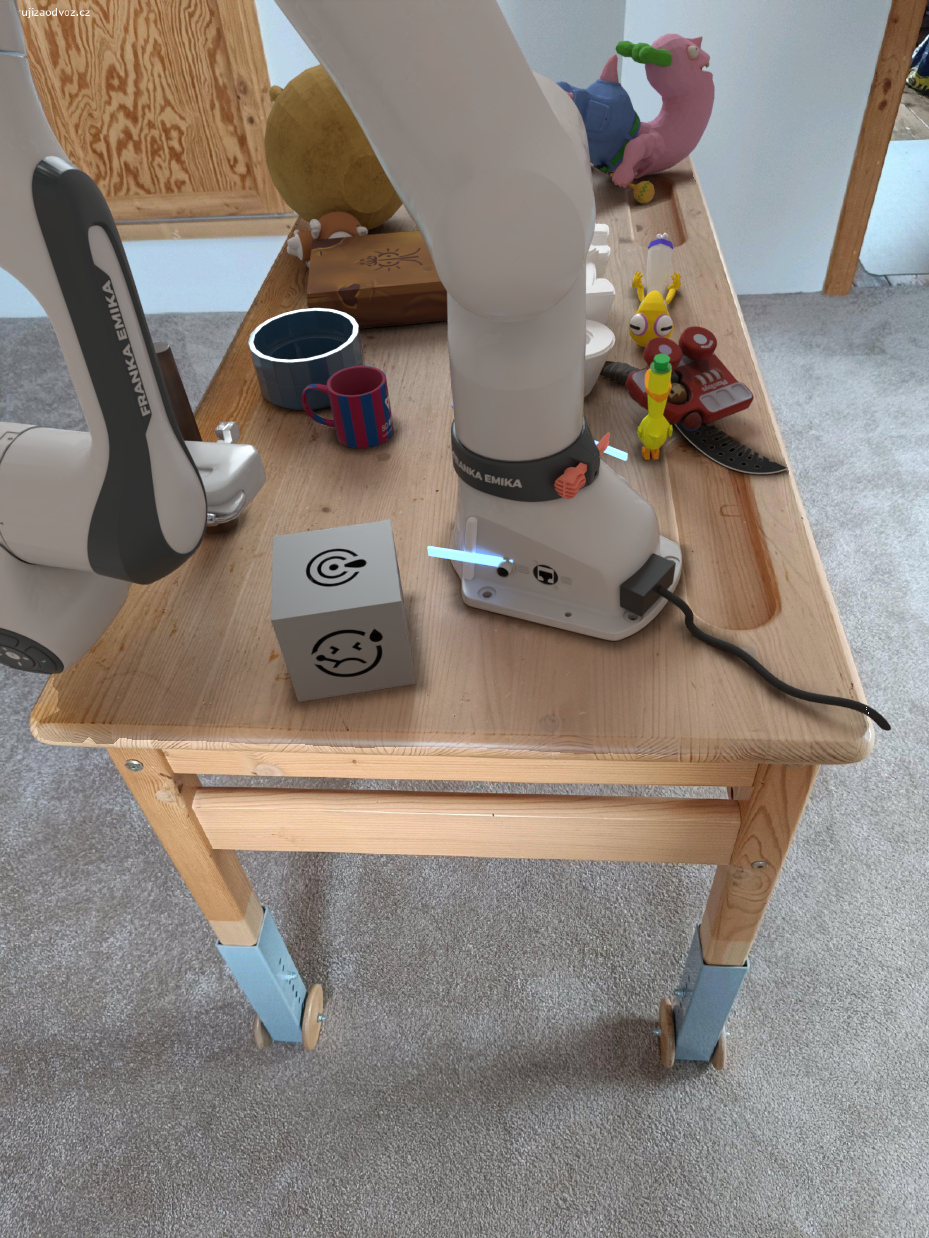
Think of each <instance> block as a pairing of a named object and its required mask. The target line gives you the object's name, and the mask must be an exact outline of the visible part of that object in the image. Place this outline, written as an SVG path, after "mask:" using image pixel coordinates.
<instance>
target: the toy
mask: <svg viewBox="0 0 929 1238" xmlns="http://www.w3.org/2000/svg"><path fill="white" fill-rule="evenodd" d="M702 42H703V36H697V37H694V38H689V37H688V38H687V37H685V36H682V35H680V34H678V33H665V34H663V35H660V36H659V37H658V38H657V39H655V40H654V41H653V42H652V44H649V43H646V42H638V43H633V42H631V41H629V40H621V41H618V42H617V44H616V46H615V51H616V54H614V55H611V56H610V57H609V58H608V60H607V61H606V63H605V65H604V66H603V68H602V71H601V73H600V75H599V78H597V79H596V81H594V82H593V83H591V84H590V85H589V86H587V88H581V87H580V88H579V87H576V86H573V85H571V84H569V83H568V82H567V81H557V82H555V83H556V84H557V85H559V86H560V87H561V88H562V89H563V90H564V91H565V92H566V93H567V94H568V95H569V96H570V98H571V99H572V100H573V102H574V103H575V105H576V106H577V108H578V110H579V112H580V114H581V117H582V119H583V122H584V125H585V129H586V133H587V139H588V147H589V155H590V164H592V165H593V166H592V167H593V168H595V169H597V170H598V171H600V172H601V173H604V174H605V175H606V174H608V176H610V178H611V183H614V185H615V186H619V188H623V189H624V190H625V189H626V188H628V187H629V188H631V189H632V191H633V197H634V200H635V201H636V202H638V204H641V205H642V204H643V205H644V204H648V203H650V202H651V201H652V200H653V198H654V196H655V194H656V191H655V186H654V184H653V183H652V182H650V180H642V181H640V182H638V183H637V184H634V183H633V182H634V180H638V179H640V178H642V177H644V176H647V175H652V174H656V173H660V172H664V171H666V170H669V169H671V168H673V167H675V166H677V164H679V163H680V162H682V161H683V160H684V159H686V158H688V156H689V155H691V153H692V152H694V150H695V149H696V147H697V146H698V145H699V143H700V141H701V139H702V137H703V135H704V133H705V130H706V129H707V127H708V125H709V121H710V119H711V117H712V112H713V107H714V103H715V91H716V89H715V83H714V80H713V78H714V74H713V73H712V72H711V71H709V70H703V68H704V67H705V68H706V69H707V68H709V67H710V60H711V56H710V54H709V53H707V52H706V51H705V50H703V49H702V44H703V43H702ZM618 55H620V56H621V57H622V58H623V57H624V58H631V59H632V61H633V62H635V63H637V64H642V65H644V70H645V76H646V80H647V82H648V83H649V85H650V86H651V87H652V88H653V89H654V91H655V92H656V93H658V94H659V95H660V97H661V101H662V105H661V109H660V111H659V113H658V114H657V116H656V117H655V118H654V119H652V120H650V121H648V122H646V121H642V120H641V119H640V117H639V115H638V113H637V111H636V110H635V109H634V106H633V102H632V99H631V97H630V95H629V92H627V90H626V89H625V88H624V87H623V85H622V84H621V82H620V81H619V73H618V61H619V60H618V59H619V58H618Z"/></svg>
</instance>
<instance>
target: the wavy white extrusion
mask: <svg viewBox="0 0 929 1238" xmlns="http://www.w3.org/2000/svg"><path fill="white" fill-rule="evenodd" d="M609 235H610V227H609V225H608V224H607V223H595V230H594V235H593V239H592V242H591V245H590V248H589V251H588V254H587V257H586V354H585V380H584V398H585V397H587V396H588V395H589V394H591V392H592V390H593V389H594V386H595V385H596V383H597V380H598V378H599V376H600V375H599V374H600V372H601V370H602V368H603V366H604V364H605V362H606V361H608V358H609V356H610V354H611V351H612V349H613V347H614V345H615V343H616V337H615V334H614V332H613V331H612V330H611V329H610V328H609V327H608V326H607V323H608V319H609V317H610V313H611V309H612V307H613V306H612V305H613V303H614V300H615V296H616V289H615V287H614V285H613V284H612V283H611V281H609V280H608V279H607V278H604V276H605V273H606V269H607V267H608V266H607V265H608V262H609V259H610V255H611V252H612V251H611V250H612V249H611V247H610V246H609V245H608V244H607V242H608V239H609Z"/></svg>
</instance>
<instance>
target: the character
mask: <svg viewBox="0 0 929 1238" xmlns="http://www.w3.org/2000/svg"><path fill="white" fill-rule="evenodd" d="M655 236H656V237H655V239H653V240H651V241H650V242H649V244H648V246H647V249H648V250H647V254H646V255H647V256H646V292H647V294H646V295H645V285H643V282H642V278H643V277H644V273H642V271H641V270H640V271H639V272H638V271H635V273H634V275H633V279H632V281H631V288H632V289H633V290H636V293H637V297H638V301H639V303H640V304H639V306H638V309H637V310H636V312H635V313H634V314H633V315H632V316H631V318H630V320H629V321H628V332H629V336H630V338H631V340H632V342H633V343H635V344H636V345H638V346H639V347H642V348H645V347H646V345H647V343H648V342H649V341H650V340H651V339H653V338H657V337H664V338H668V339H670V338H671V336H672V334H673V332H674V328H675V325H674V321H673V318H672V317H671V315H670V313H669V311H668V305H669V304H670V303H671V302H672V300H673V298H675V295H676V292H677V291H680V289H681V286H682V281H681V273H680V272H676V271H674V272H673V274H670V271H671V266H672V259H673V250H674V244H673V242H672V241H670V240H668V239H669V233H667V232H664V233H663V234H661V233H657V234H656V235H655ZM669 275H670V278H671V280H672V283H671V284H669V285H668V286H667V283H668V280H669ZM666 287H667V290H668V293H667V295H666V297H665V299H664V295H665V290H666Z"/></svg>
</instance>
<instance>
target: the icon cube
mask: <svg viewBox="0 0 929 1238" xmlns="http://www.w3.org/2000/svg"><path fill="white" fill-rule="evenodd" d="M393 531H394V530H393V526H392V520H391V519H384V520H378V521H371V522H370V521H369V522H364V523H356V524H350V525H343V526H335V527H329V528H322V529H321V528H320V529H314V530H308V531H301V532H294V533H288V534H287V533H285V534H281V535H273V536H272V559H271V560H272V561H271V562H272V564H271V599H270V600H271V604H270V608H271V609H270V622H271V624H272V628H273V631H274V634H275V636H276V640H277V642H278V646H279V649H280V651H281V654H282V657H283V661H284V664H285V666H286V670H287V672H288V676H289V678H290V681H291V684H292V687H293V690H294V693H295V695H296V699H297V702H298V703H300V702H307V701H312V700H313V701H314V700H320V699H326V698H332V697H339V696H346V695H351V694H359V693H365V692H372V691H378V690H386V689H389V688H391V689H392V688H396V687H397V688H398V687H403V686H411V685H416V677H415V669H414V663H413V662H414V661H413V654H412V647H411V639H410V633H409V632H410V631H409V625H408V619H407V610H406V609H407V608H406V602H405V596H404V590H403V584H402V578H401V572H400V567H399V561H398V555H397V549H396V544H395V538H394V532H393Z"/></svg>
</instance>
